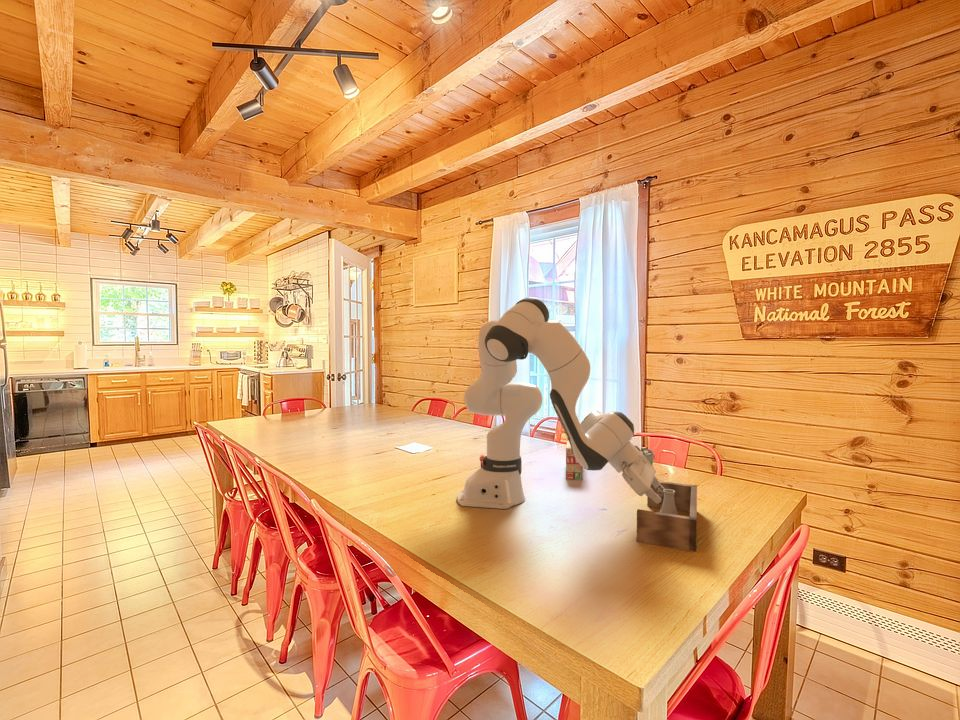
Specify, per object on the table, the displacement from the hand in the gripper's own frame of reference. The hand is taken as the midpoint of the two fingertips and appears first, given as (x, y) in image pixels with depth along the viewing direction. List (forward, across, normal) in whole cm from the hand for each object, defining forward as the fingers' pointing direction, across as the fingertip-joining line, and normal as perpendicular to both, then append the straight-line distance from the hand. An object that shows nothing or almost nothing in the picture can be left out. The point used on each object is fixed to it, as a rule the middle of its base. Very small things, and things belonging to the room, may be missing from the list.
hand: (661, 496), depth 128 cm
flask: (+7, +1, +5) cm, 9 cm away
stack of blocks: (-20, +41, +31) cm, 55 cm away
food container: (0, +44, +12) cm, 45 cm away
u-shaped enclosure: (+7, +1, +4) cm, 8 cm away
